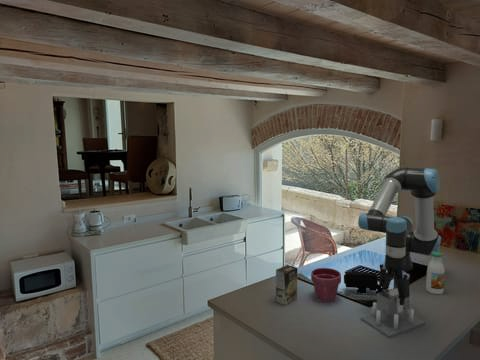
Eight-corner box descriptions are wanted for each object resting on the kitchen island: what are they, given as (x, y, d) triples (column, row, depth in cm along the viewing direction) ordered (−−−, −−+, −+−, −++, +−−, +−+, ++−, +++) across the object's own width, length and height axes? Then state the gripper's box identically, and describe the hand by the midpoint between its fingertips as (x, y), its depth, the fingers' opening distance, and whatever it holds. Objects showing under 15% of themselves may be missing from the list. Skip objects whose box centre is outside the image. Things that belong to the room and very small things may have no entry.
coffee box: (286, 305, 162) (285, 273, 160) (275, 301, 167) (275, 269, 165) (297, 299, 169) (297, 267, 167) (287, 294, 173) (287, 264, 171)
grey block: (396, 302, 151) (397, 286, 150) (408, 308, 146) (409, 292, 145) (376, 308, 146) (377, 292, 145) (388, 315, 141) (388, 299, 140)
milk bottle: (423, 291, 173) (426, 253, 170) (428, 286, 179) (430, 249, 176) (441, 296, 168) (443, 256, 165) (445, 290, 173) (447, 252, 171)
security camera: (383, 297, 168) (384, 277, 167) (344, 294, 172) (344, 275, 171) (381, 290, 175) (381, 271, 174) (343, 288, 179) (343, 269, 178)
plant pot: (316, 288, 179) (316, 265, 177) (343, 294, 172) (344, 270, 170) (307, 300, 167) (307, 275, 165) (336, 307, 160) (336, 281, 158)
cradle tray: (395, 307, 158) (395, 293, 157) (425, 324, 145) (426, 308, 144) (360, 319, 149) (361, 304, 148) (388, 337, 136) (389, 321, 135)
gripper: (370, 249, 150) (369, 300, 153) (408, 264, 133) (406, 320, 136) (383, 246, 153) (381, 296, 156) (422, 261, 136) (419, 316, 139)
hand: (392, 307), depth 146 cm, fingers closed on grey block, 6 cm apart
